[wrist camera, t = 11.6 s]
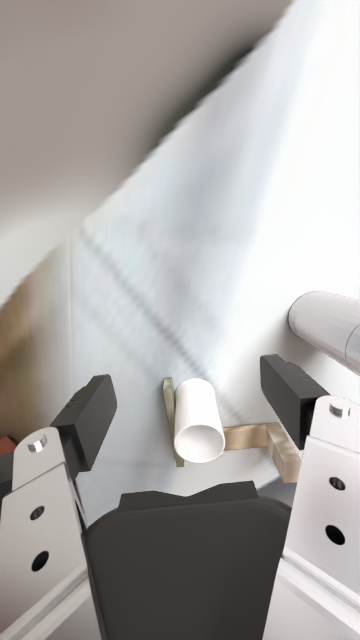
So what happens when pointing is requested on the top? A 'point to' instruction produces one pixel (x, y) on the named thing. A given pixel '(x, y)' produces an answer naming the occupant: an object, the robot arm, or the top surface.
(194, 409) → the mug
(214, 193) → the top surface
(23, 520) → the robot arm
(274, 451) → the bracket
